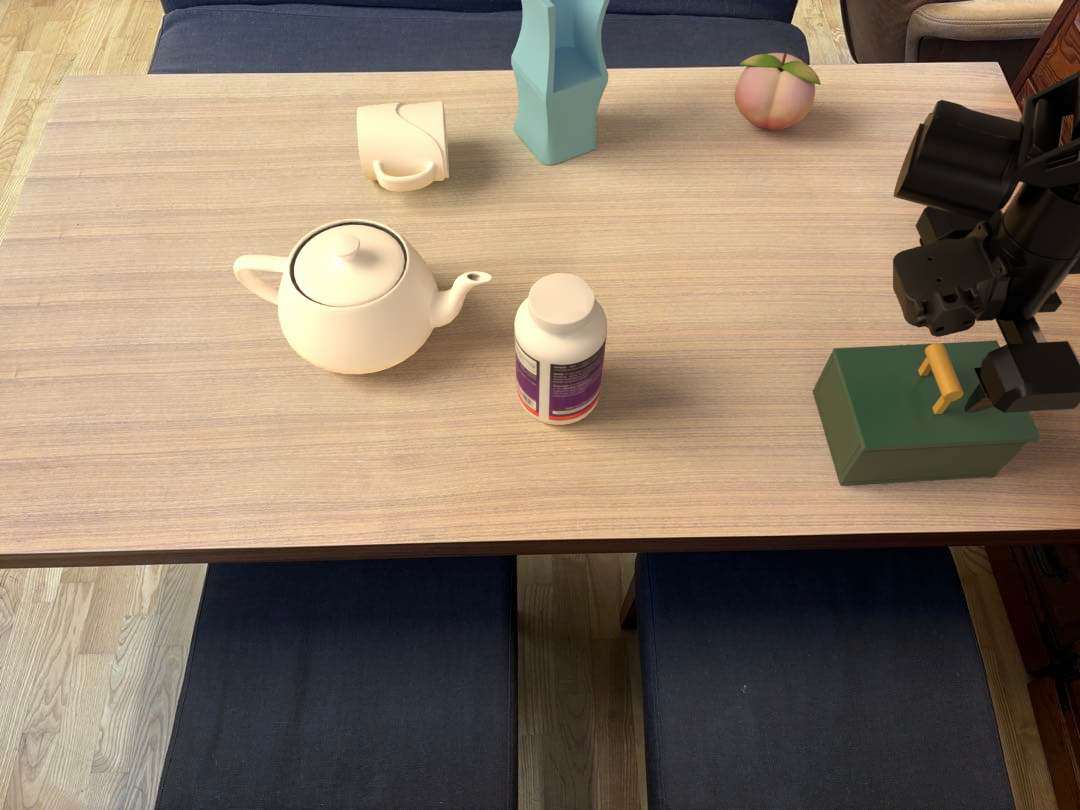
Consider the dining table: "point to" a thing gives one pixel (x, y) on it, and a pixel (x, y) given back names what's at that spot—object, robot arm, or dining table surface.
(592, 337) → the pill bottle
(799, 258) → the dining table surface
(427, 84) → the dining table surface
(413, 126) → the mug
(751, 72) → the decorative fruit
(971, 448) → the tea tin
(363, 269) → the teapot
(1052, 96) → the robot arm
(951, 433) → the tin lid
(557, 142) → the vase
